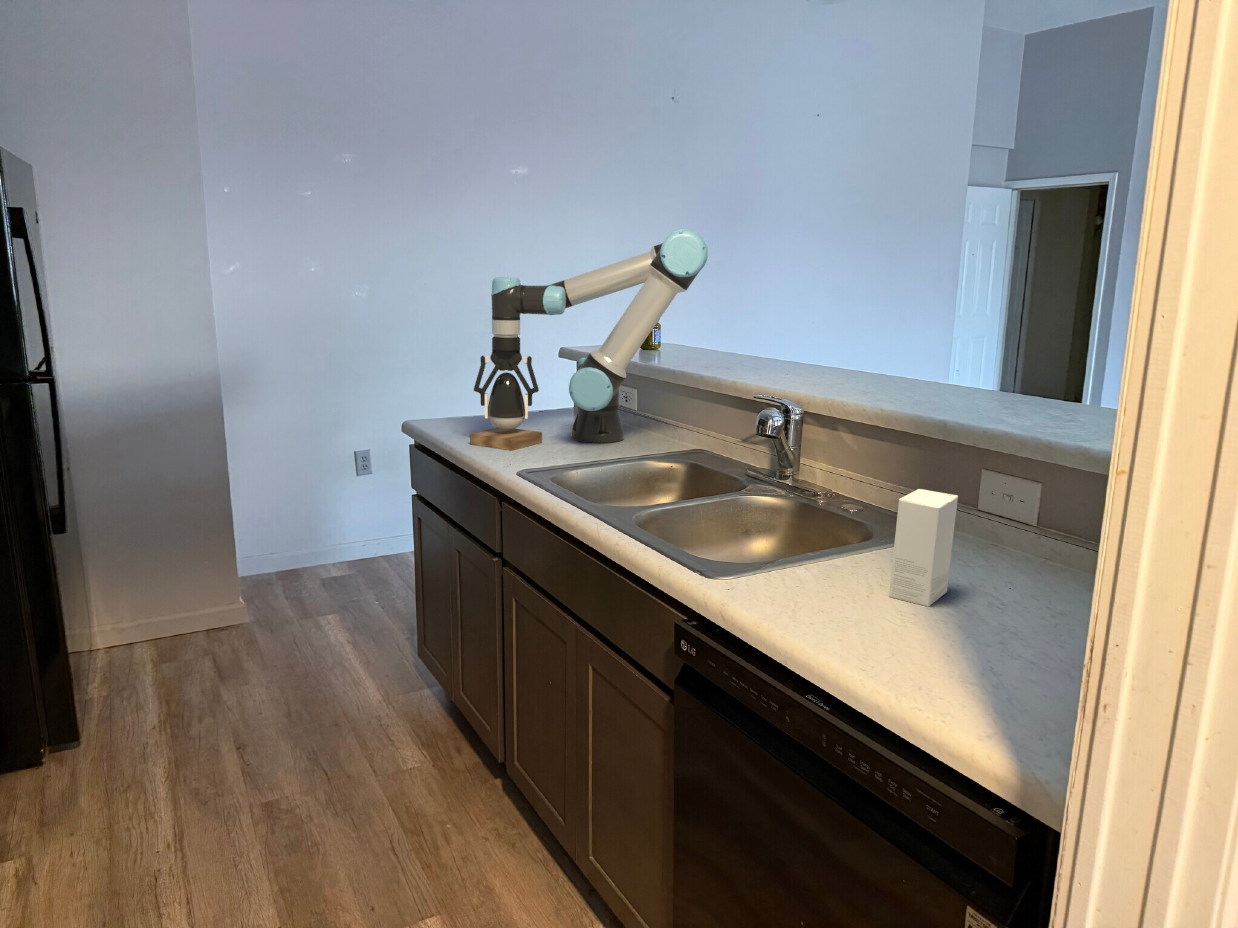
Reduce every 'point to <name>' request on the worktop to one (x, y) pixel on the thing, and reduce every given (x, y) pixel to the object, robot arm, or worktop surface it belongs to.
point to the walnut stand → (506, 438)
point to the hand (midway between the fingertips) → (506, 417)
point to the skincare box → (923, 546)
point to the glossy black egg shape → (506, 402)
